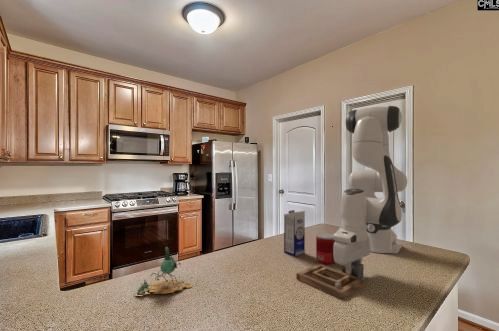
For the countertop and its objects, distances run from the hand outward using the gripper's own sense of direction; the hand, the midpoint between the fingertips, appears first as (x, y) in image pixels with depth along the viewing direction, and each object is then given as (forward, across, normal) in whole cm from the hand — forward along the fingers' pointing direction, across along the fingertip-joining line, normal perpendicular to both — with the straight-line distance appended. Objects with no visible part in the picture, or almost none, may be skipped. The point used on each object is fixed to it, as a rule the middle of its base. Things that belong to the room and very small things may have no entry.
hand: (353, 271), depth 90 cm
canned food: (+2, -6, -15) cm, 16 cm away
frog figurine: (+3, +57, -34) cm, 67 cm away
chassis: (+2, +10, -3) cm, 10 cm away
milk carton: (+2, -2, -30) cm, 30 cm away
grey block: (+2, 0, 0) cm, 2 cm away
